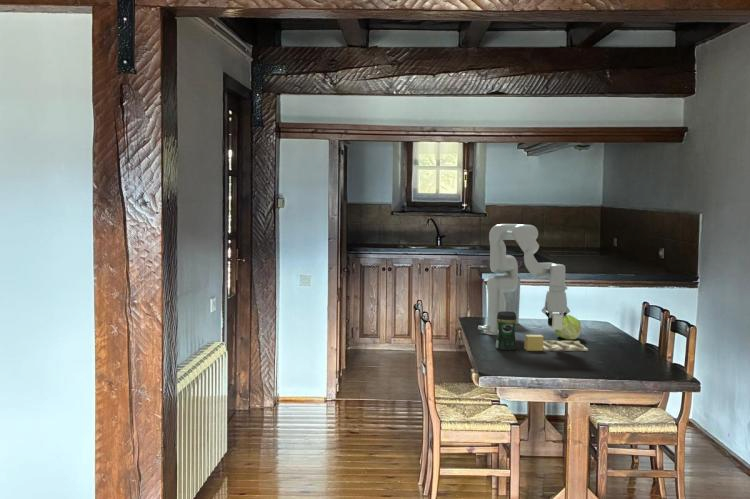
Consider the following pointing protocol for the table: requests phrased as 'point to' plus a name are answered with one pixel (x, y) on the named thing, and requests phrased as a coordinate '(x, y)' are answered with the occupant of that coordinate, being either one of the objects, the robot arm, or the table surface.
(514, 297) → the vase
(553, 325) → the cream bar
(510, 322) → the coffee jar
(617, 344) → the table surface
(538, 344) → the ochre bar
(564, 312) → the robot arm
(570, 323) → the lettuce
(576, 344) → the slot board
